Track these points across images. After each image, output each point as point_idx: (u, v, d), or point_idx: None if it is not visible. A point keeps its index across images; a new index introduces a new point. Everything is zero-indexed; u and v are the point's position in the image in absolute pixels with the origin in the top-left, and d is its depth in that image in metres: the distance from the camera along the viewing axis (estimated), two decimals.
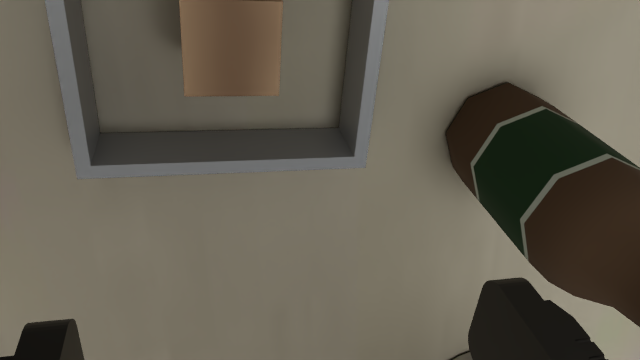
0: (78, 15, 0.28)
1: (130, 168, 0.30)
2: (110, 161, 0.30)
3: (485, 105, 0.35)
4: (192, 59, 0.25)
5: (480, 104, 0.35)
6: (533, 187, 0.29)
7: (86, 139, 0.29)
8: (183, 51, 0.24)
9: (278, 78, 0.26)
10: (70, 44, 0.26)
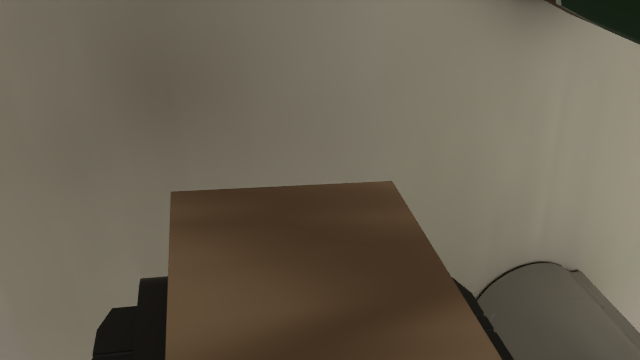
0: None
1: None
2: None
3: None
4: None
5: None
6: None
7: None
8: None
9: None
10: None
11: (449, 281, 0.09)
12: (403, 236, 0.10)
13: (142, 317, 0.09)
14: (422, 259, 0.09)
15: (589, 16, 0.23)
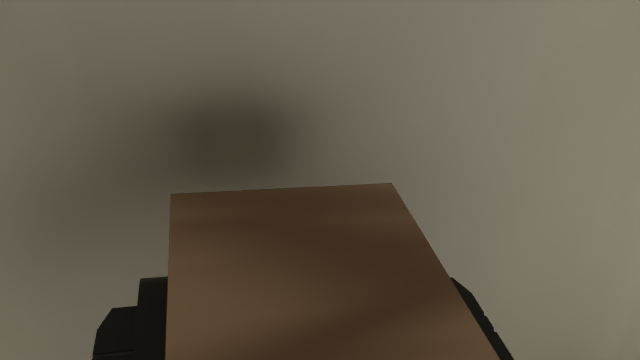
0: None
1: None
2: None
3: None
4: None
5: None
6: None
7: None
8: None
9: None
10: None
11: (449, 283, 0.09)
12: (403, 239, 0.10)
13: (142, 317, 0.09)
14: (422, 261, 0.09)
15: None
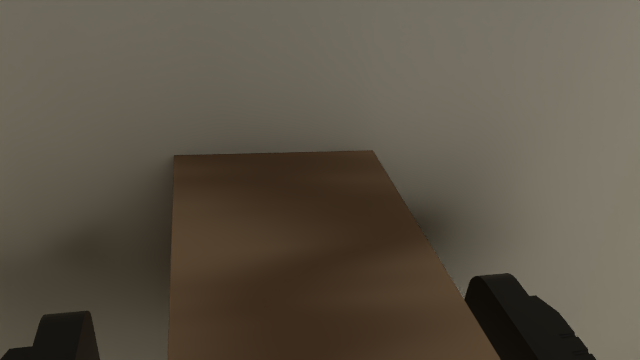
0: None
1: None
2: None
3: None
4: None
5: None
6: None
7: None
8: None
9: None
10: None
11: (417, 229, 0.10)
12: (379, 194, 0.11)
13: None
14: (395, 212, 0.10)
15: None
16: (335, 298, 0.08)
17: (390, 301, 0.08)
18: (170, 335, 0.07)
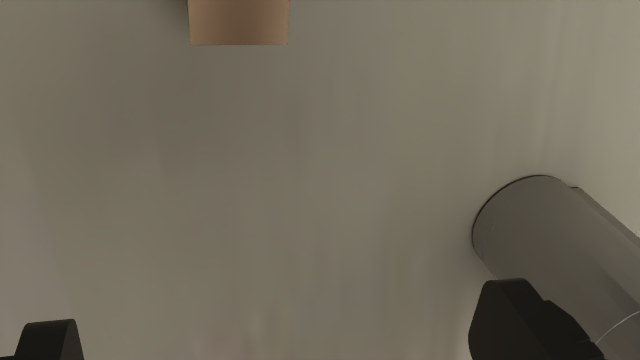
0: None
1: None
2: None
3: None
4: (198, 4, 0.24)
5: None
6: None
7: None
8: None
9: (286, 25, 0.25)
10: None
11: None
12: None
13: None
14: None
15: None
16: None
17: None
18: None
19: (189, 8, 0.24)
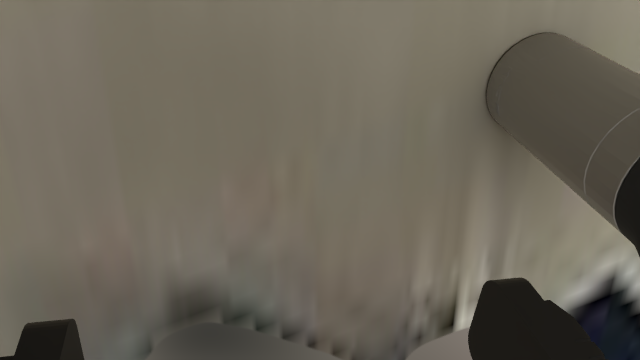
0: None
1: None
2: None
3: None
4: None
5: None
6: None
7: None
8: None
9: None
10: None
11: None
12: None
13: None
14: None
15: None
16: None
17: None
18: None
19: None
